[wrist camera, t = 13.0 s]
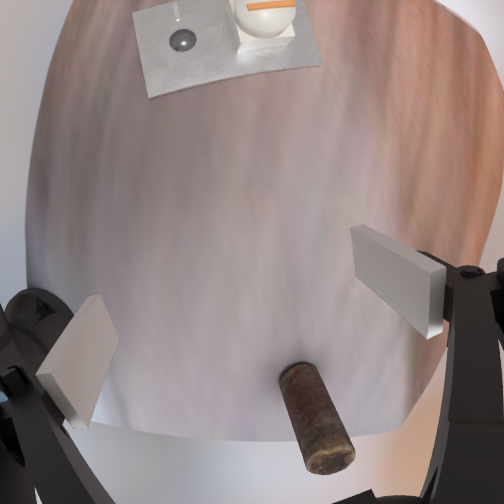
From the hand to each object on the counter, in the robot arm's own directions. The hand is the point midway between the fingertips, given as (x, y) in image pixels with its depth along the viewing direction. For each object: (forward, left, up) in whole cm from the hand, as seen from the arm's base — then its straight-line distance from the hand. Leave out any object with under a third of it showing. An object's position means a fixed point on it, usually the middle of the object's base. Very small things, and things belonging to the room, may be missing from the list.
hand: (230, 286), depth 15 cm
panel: (+7, +23, -29) cm, 37 cm away
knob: (+11, +23, -27) cm, 37 cm away
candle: (+6, -33, -29) cm, 45 cm away
